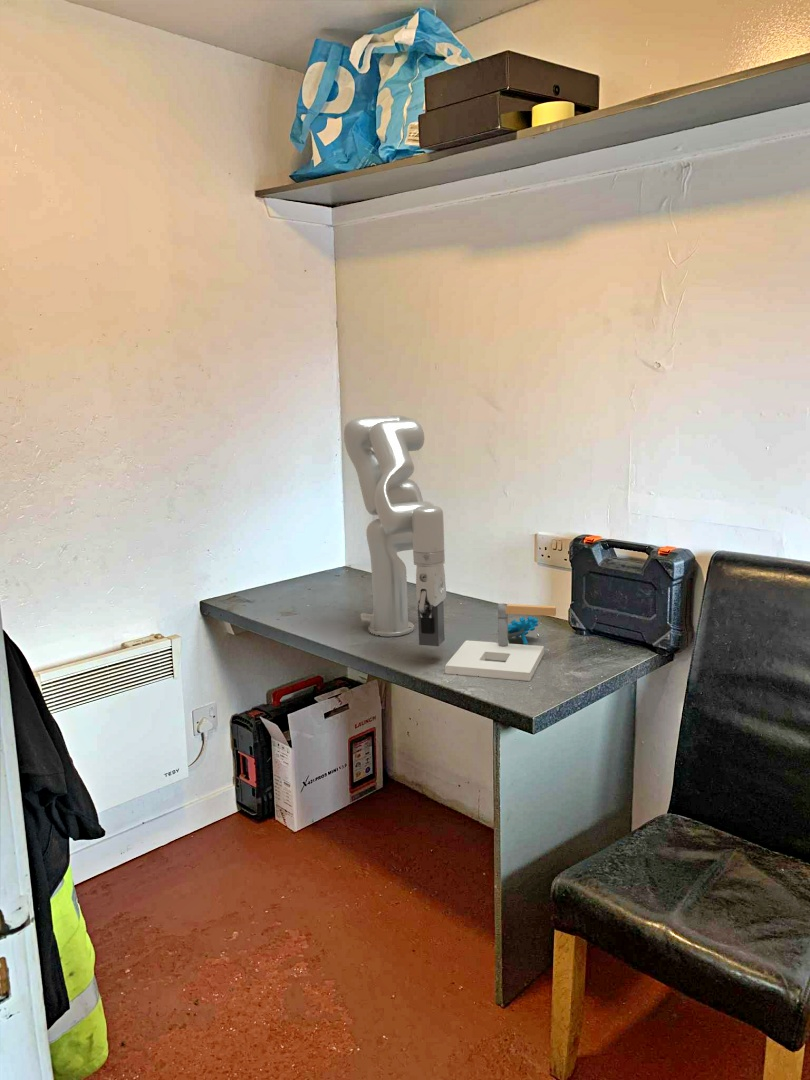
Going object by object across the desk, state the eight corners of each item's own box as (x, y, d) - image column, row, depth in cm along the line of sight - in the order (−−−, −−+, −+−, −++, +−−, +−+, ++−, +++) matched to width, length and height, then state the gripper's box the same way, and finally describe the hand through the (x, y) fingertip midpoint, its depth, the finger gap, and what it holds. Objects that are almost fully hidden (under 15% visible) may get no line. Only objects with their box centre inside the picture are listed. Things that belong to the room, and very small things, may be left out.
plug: (419, 644, 200) (417, 605, 199) (425, 638, 205) (424, 600, 203) (438, 646, 199) (437, 606, 197) (444, 640, 203) (443, 601, 202)
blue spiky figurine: (533, 628, 219) (539, 611, 211) (541, 648, 216) (547, 631, 208) (494, 637, 218) (498, 620, 209) (501, 657, 215) (506, 640, 206)
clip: (555, 620, 200) (555, 608, 199) (497, 617, 204) (497, 605, 203) (556, 617, 202) (556, 605, 201) (498, 614, 206) (498, 603, 205)
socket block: (445, 673, 193) (444, 636, 192) (466, 647, 211) (465, 613, 209) (529, 681, 187) (529, 642, 185) (543, 653, 204) (543, 618, 203)
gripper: (433, 565, 189) (435, 641, 192) (453, 550, 205) (455, 621, 208) (402, 564, 191) (405, 639, 195) (424, 549, 207) (427, 619, 211)
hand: (431, 629), depth 201 cm, fingers closed on plug, 5 cm apart
